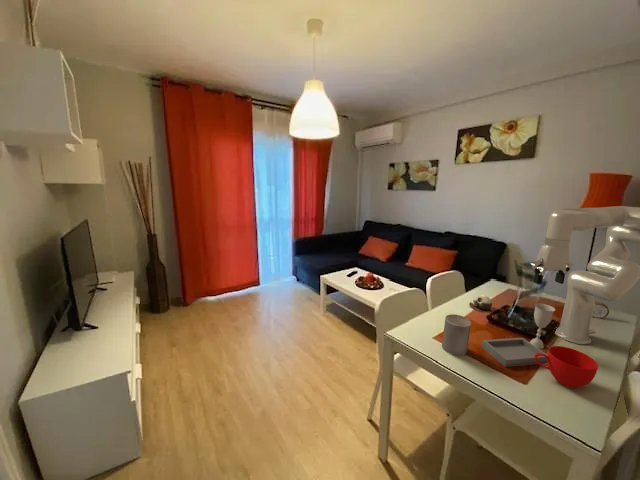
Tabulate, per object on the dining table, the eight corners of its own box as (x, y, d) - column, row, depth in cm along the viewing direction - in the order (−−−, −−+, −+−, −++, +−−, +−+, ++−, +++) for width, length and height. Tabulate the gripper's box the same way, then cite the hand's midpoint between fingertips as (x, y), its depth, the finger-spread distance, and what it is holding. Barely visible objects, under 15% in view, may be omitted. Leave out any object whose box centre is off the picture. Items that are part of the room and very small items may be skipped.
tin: (605, 318, 143) (609, 303, 141) (607, 320, 140) (612, 305, 138) (568, 310, 151) (571, 296, 149) (569, 312, 148) (572, 298, 146)
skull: (462, 303, 156) (473, 289, 157) (471, 312, 160) (482, 298, 161) (481, 312, 145) (492, 296, 146) (490, 321, 149) (501, 307, 149)
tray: (521, 343, 120) (522, 337, 119) (548, 363, 107) (550, 356, 106) (481, 346, 117) (482, 340, 117) (504, 366, 105) (506, 359, 104)
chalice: (550, 351, 115) (559, 312, 111) (532, 348, 116) (540, 310, 112) (540, 341, 122) (548, 304, 118) (523, 339, 123) (530, 302, 119)
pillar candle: (447, 339, 122) (450, 309, 119) (470, 349, 115) (475, 317, 112) (438, 349, 116) (441, 317, 112) (462, 359, 109) (466, 326, 105)
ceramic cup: (525, 362, 107) (530, 340, 105) (580, 374, 101) (587, 351, 99) (536, 385, 96) (542, 360, 93) (599, 400, 89) (607, 374, 87)
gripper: (567, 240, 113) (558, 279, 117) (528, 240, 112) (521, 280, 116) (586, 244, 106) (576, 285, 110) (545, 245, 104) (536, 287, 108)
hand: (548, 282), depth 113 cm, fingers open, 9 cm apart
